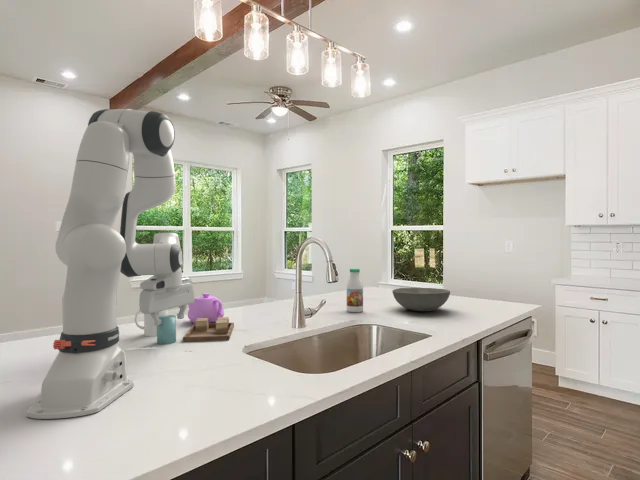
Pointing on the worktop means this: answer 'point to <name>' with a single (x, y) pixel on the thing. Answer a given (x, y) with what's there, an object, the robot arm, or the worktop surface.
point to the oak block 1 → (201, 324)
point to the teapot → (206, 308)
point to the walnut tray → (207, 334)
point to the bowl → (421, 298)
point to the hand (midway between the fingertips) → (169, 321)
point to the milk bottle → (354, 292)
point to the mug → (150, 323)
